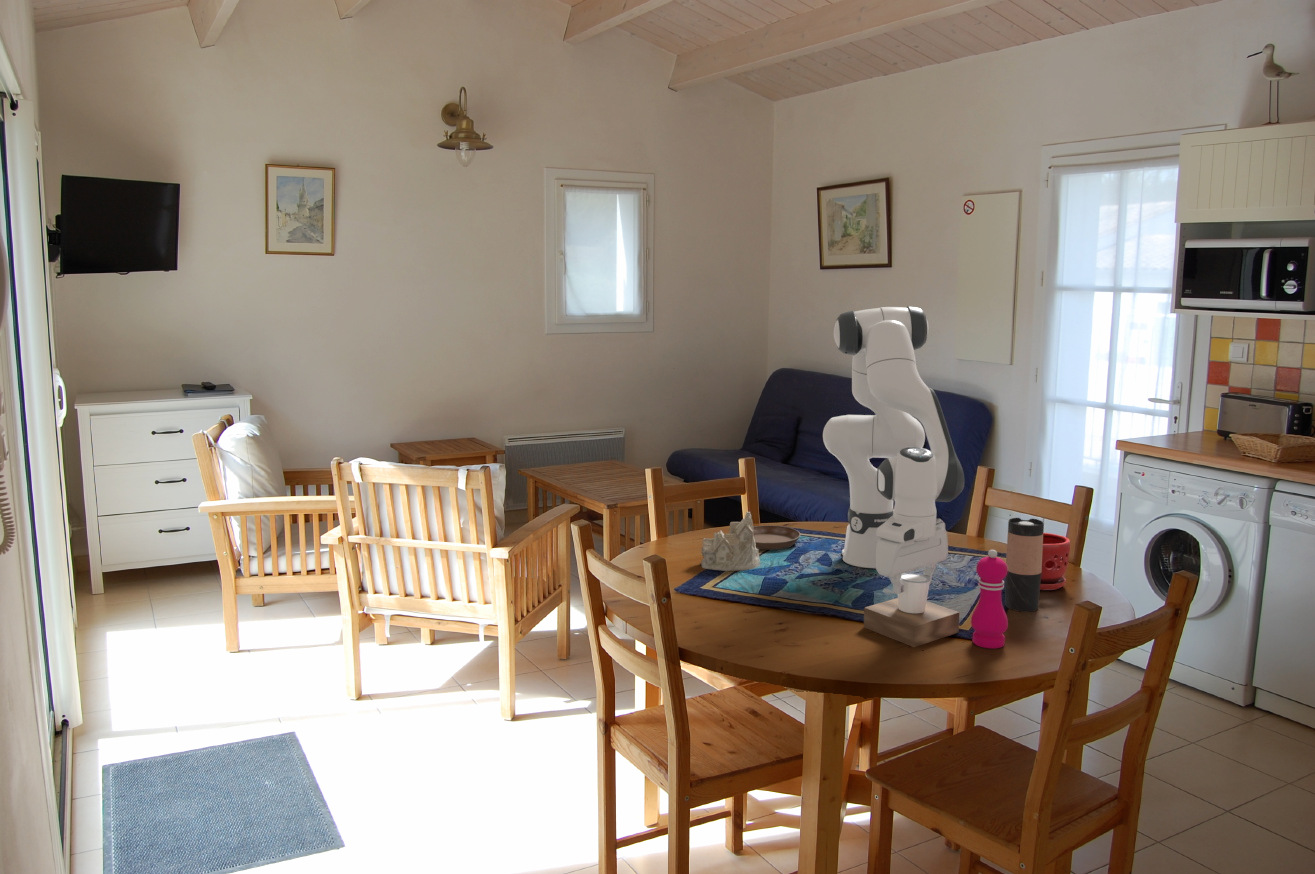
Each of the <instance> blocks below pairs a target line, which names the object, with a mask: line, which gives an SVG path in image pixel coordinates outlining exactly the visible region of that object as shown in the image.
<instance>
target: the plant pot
mask: <svg viewBox="0 0 1315 874" xmlns="http://www.w3.org/2000/svg"><path fill="white" fill-rule="evenodd" d="M1070 553H1071V541H1070V538H1068V537H1066V536H1065V535H1060V534H1057V533H1050V532H1049V533H1048V532H1043V550H1042V572H1041V583H1040V591H1056V590H1058V589H1060V588H1062V587H1064V586H1065V584H1067V583H1066V582H1067V579H1066V577H1064V574H1065V573H1066V570H1067V567H1068V565H1069V558H1070V557H1069V556H1070Z"/></svg>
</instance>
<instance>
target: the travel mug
mask: <svg viewBox="0 0 1315 874" xmlns="http://www.w3.org/2000/svg"><path fill="white" fill-rule="evenodd" d="M1044 525H1045V524H1044V521H1042V520H1039V519H1038V518H1029V519H1027V520H1025V519H1021V518H1020V517H1012V518H1009V520H1008V522H1007V540H1006V541H1007V542H1006V555H1005V557H1006V558H1005V563H1006V565H1007V575H1006V577H1005V578H1004V588H1005V589H1004V592H1005V595H1004V596H1005V597H1004V604H1005V607H1006V608H1007V609H1010V610H1012V611H1017V612H1026V613H1027V612H1034V611H1037V610H1038V608H1039V603H1040V592H1041V590H1040V583H1041V572H1042V550H1043V533H1044V529H1045V528H1044V527H1045V526H1044Z"/></svg>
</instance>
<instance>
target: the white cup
mask: <svg viewBox="0 0 1315 874" xmlns="http://www.w3.org/2000/svg"><path fill="white" fill-rule="evenodd" d="M900 582H901V584H902V585H904V589H903V590H904V592H902V593H900V594H897V598H898V609H899V610H901V611H903V612H907V613H923V612H924V611H925V607H926V601H927V600H928V595H929V590H930V584H931V583H930V579H929V578H928V577H926V576H923V574H919V573H912V572H911V573H910V572H909V573H908V572H906V573H903V574H901V579H900Z"/></svg>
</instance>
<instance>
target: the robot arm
mask: <svg viewBox="0 0 1315 874" xmlns="http://www.w3.org/2000/svg"><path fill="white" fill-rule="evenodd" d="M834 323H835V324H834V328H833V339H834V342H835V344H836V347H837V349H838V350H839V351H840V352H841V353H842V354H845V355H849V356H852V361H851V392H852V396H853V397H854V399H855V401H857V402H858V403H859V404H860V405H862V406H863V407H864V408H868V409H869V410H871V411H872V412H874V415H873V414H872V415H871V414H865V415H864V414H846V415H844V414H843V415H839V416H833V417H831V418H830V419H829V420H828V421H827V422H826V424H825V425H824V427H823V431H822V440H823V444H824V446H825V448H826V449H827V451H828V452H829V453H830V454H832V455H833V456H835V458H836V459H837V460H838V461H839V462H840V463H841V465H842V466H843V468H844V470H845V471H846V474H847V477H848V482H849V483H848V484H849V496H850V497H849V504H850V506H849V507H848V512H847V521H848V525H846V526H847V527H846V532H845V540H844V548H843V549H842V550H841V555H842V560H843V562H845V563H846V564H848V565H850V566H853V567H854V566H855V567H858V568H865V569H866V568H867V569H876V571H877V573H878V574H879V575H880V576H884V577H887V578H888V579H889V580H890V582H891V584H892V592H893V593H894V594H896V595H898V594H900V593H902V592H904V590H903V589H904V585H902V584H901V582H900V579H901V574H905V573H908V572H909V573H910V572H912V571H915V570H918V569H921V568H924V570H923V574H922V575H923V576H926V577H928V578H929V579H930V584H932V579H933V578H932V577H933V574H934V572H935V571H936V568H937V567H936V566H937V563H941V562H945V561H946V560H947V557H948V555H949V541H948V533H947V530H946V523H945V522H944V521H943V520H942V519H941V518H937V507H936V502H939V503H940V502H941V503H942V502H943V503H950V502H952V501H953V500H955V499H956V498H958V496H959V495H960V494H961V493H962V492H963V490H964V487H965V473H964V469H963V467H962V464H961V462H960V460H959V457H958V456H957V453H956V451H955V448H954V445H953V442H952V438H951V435H950V431H949V428H948V424H947V421H946V419H945V416H944V413H943V408H942V407H941V403H940V401H939V398H938V396H937V394H936V392H935V391H934V389H933V388H931V387H929V386H928V385H927V384H926V383H925V382H924V380H923V379H922V378H921V375H920V373H919V371H918V367H917V363H916V362H917V361H916V355H915V351H916V350H918V349H922V347H923V346H924V345H925V344H926V343H927V340H928V339H927V338H928V335H929V332H930V331H929V330H930V329H929V328H930V325H929V321H928V319H927V316H926V313H925V311H924V310H922V309H921V308H920V307H916V306H906V307H901V306H885V307H884V306H880V307H877V308H869V309H868V308H867V309H866V308H865V309H862V310H856V311H854V310H849V311H844V312H843V313H841V314H839V315H838V316H837V318H836V321H835V322H834ZM926 438H927V442H928V445H929V448H930V450H929V449H927V448H924V445H925V440H926ZM872 458H879V459H880V458H881V459H884V460H883V461H882V462H881V463H880V464H879V466H878V467H877V468H876V467H875V466H873V464H872V463H871V462H870V460H871V459H872Z"/></svg>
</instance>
